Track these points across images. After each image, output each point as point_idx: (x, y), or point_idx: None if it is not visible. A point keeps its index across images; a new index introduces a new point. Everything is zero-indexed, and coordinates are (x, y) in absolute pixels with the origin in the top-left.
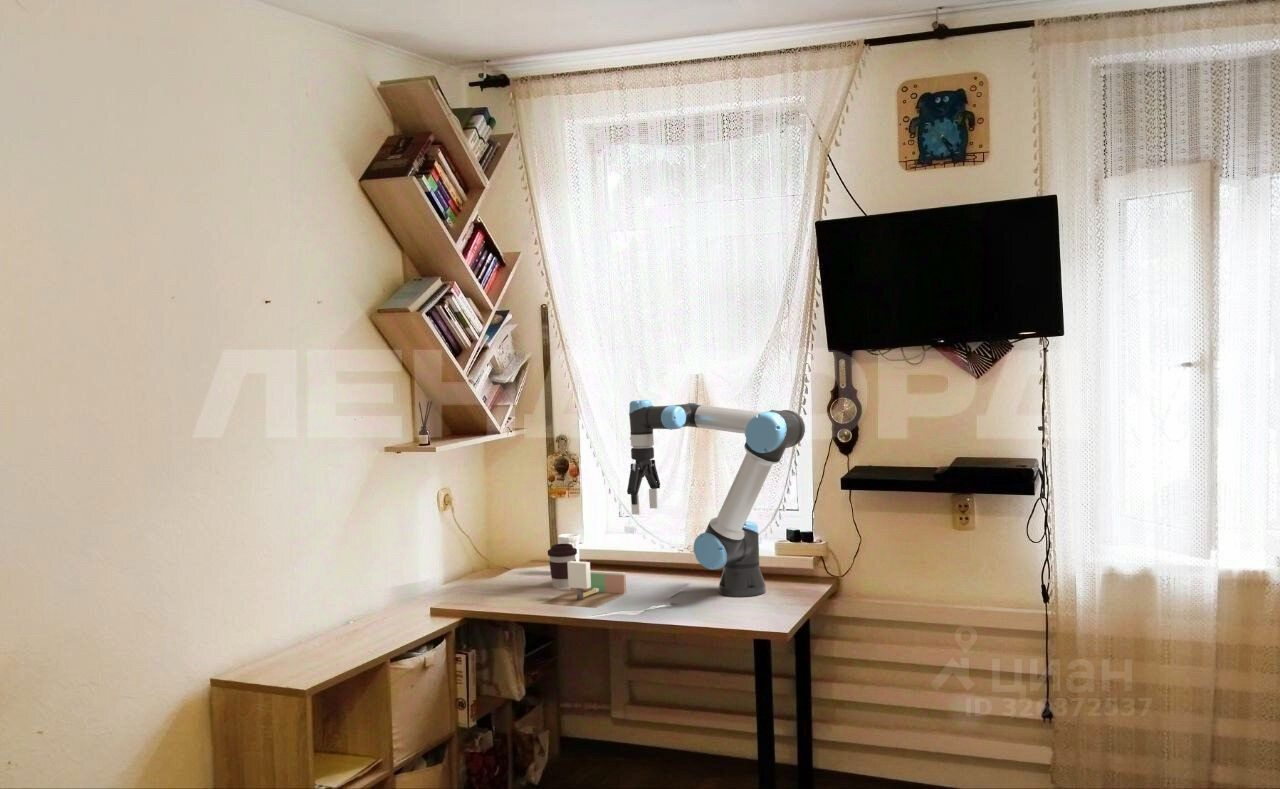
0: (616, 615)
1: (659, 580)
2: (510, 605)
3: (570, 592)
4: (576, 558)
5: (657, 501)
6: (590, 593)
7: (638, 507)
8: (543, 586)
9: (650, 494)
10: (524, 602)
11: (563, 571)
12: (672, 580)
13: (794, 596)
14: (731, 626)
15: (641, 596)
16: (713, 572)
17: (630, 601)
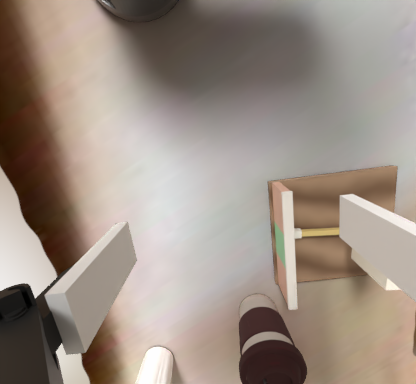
0: (410, 112)
1: (127, 198)
2: (384, 315)
3: (301, 274)
4: (154, 372)
5: (101, 239)
6: (318, 229)
7: (378, 209)
8: None
9: (103, 306)
10: (360, 308)
11: (284, 324)
12: (115, 174)
13: None
14: None
15: (258, 155)
16: (10, 135)
17: (301, 152)
